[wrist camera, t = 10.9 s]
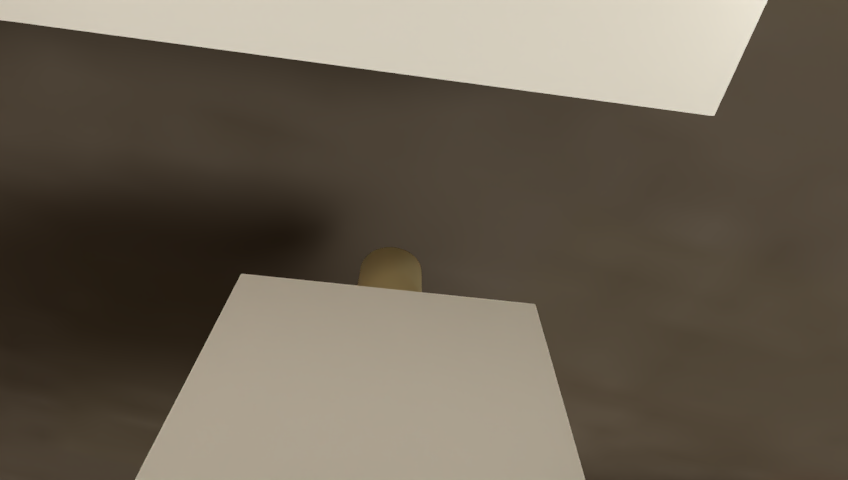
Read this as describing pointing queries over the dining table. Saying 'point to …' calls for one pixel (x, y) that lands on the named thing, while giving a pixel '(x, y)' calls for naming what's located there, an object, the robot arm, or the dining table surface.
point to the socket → (458, 39)
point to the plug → (367, 386)
